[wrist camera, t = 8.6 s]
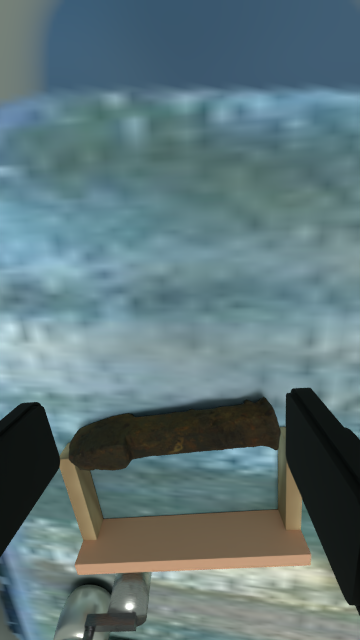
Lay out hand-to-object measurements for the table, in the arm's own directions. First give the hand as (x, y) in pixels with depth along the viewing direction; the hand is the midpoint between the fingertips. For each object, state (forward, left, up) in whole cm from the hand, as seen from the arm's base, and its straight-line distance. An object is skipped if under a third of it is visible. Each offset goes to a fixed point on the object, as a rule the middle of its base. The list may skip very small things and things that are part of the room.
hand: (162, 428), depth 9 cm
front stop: (+1, +23, -12) cm, 26 cm away
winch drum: (+8, +28, -12) cm, 31 cm away
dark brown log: (+1, +10, -12) cm, 16 cm away
